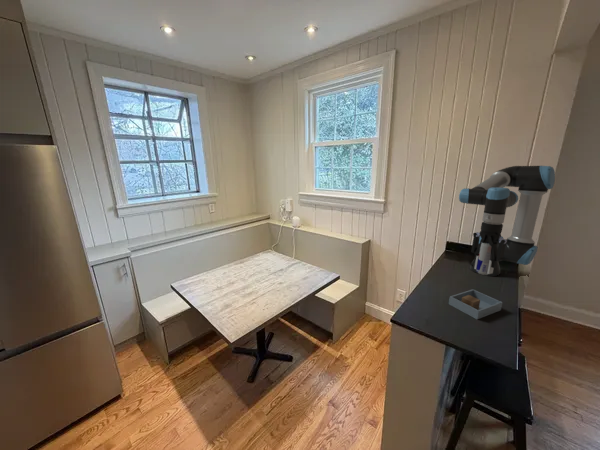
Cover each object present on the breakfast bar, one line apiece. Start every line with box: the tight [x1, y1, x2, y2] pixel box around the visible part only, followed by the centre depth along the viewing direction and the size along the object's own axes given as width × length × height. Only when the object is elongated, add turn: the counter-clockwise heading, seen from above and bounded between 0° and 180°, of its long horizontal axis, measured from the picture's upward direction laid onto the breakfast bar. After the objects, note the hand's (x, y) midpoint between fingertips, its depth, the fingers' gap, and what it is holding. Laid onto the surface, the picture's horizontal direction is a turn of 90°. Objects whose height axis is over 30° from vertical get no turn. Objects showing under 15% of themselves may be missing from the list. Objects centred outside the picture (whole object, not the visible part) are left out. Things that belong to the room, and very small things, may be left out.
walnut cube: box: [461, 295, 480, 310], centre depth 112 cm, size 5×5×5 cm
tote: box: [448, 288, 503, 320], centre depth 114 cm, size 17×13×4 cm
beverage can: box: [476, 242, 492, 276], centre depth 112 cm, size 5×5×15 cm
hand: (483, 270), depth 113 cm, fingers closed on beverage can, 5 cm apart
